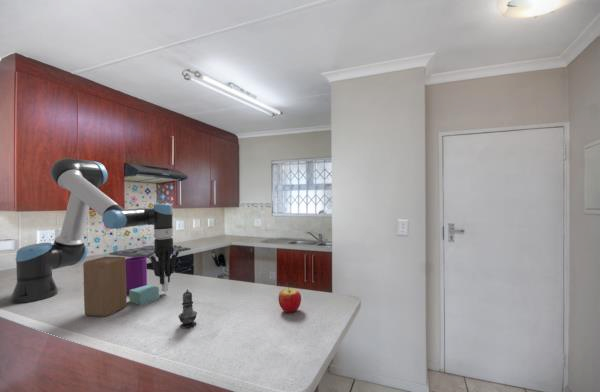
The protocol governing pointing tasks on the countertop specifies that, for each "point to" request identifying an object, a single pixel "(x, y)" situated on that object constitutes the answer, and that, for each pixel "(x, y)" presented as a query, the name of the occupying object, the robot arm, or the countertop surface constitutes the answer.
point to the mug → (136, 273)
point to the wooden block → (104, 285)
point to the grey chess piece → (187, 312)
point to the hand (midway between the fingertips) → (165, 290)
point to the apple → (289, 299)
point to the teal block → (144, 294)
